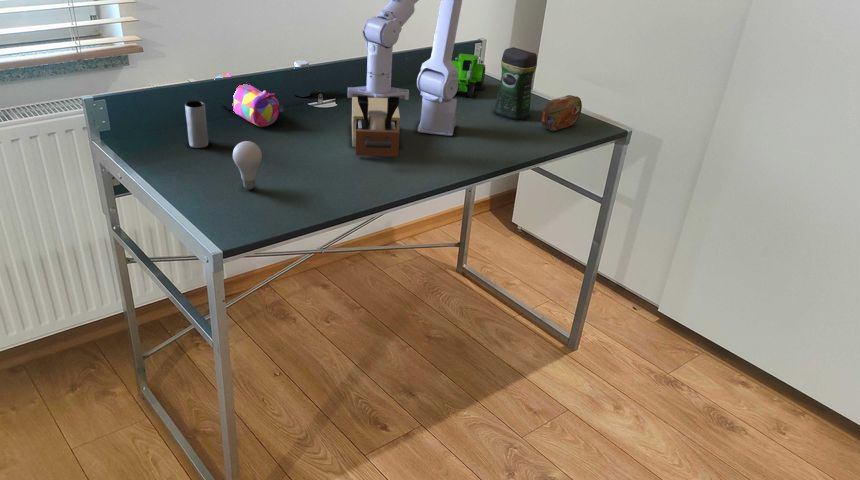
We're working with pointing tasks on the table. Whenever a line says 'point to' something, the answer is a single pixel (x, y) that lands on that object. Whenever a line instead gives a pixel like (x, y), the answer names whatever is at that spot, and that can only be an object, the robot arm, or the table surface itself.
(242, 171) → the lightbulb
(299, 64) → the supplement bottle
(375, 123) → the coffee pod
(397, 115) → the wooden drawer cabinet
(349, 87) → the robot arm
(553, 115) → the tin
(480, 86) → the toy tractor
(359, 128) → the drawer
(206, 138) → the planter
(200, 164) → the table surface
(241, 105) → the pencil case
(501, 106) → the coffee jar
